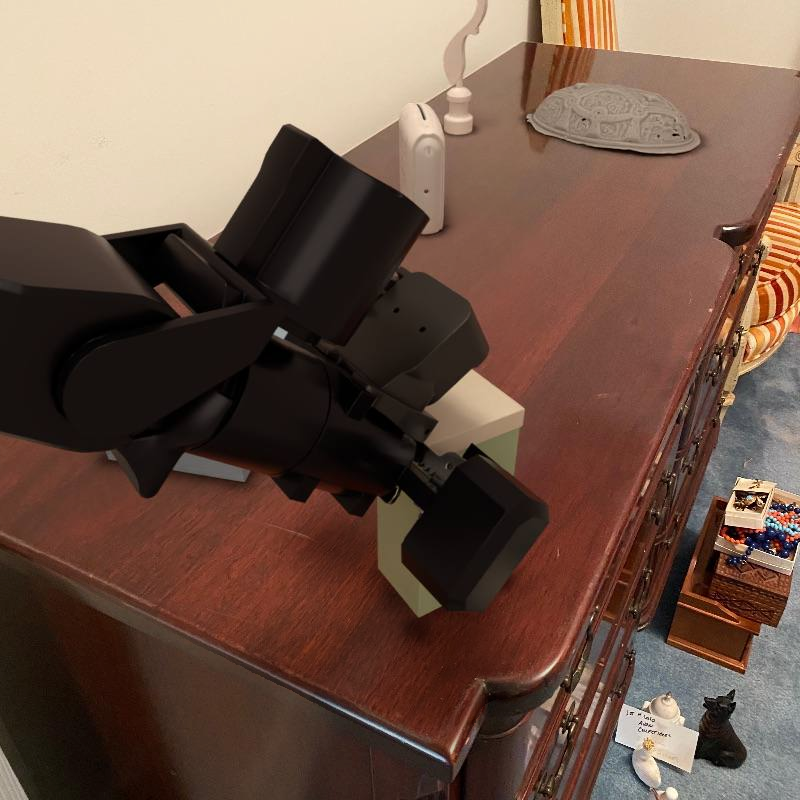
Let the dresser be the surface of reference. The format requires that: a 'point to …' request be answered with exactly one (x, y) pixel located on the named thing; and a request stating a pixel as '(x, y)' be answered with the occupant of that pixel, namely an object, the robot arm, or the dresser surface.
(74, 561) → the dresser surface
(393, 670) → the dresser surface
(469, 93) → the decorative finial
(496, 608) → the dresser surface
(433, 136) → the photo printer
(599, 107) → the grey textured dome
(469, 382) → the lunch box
